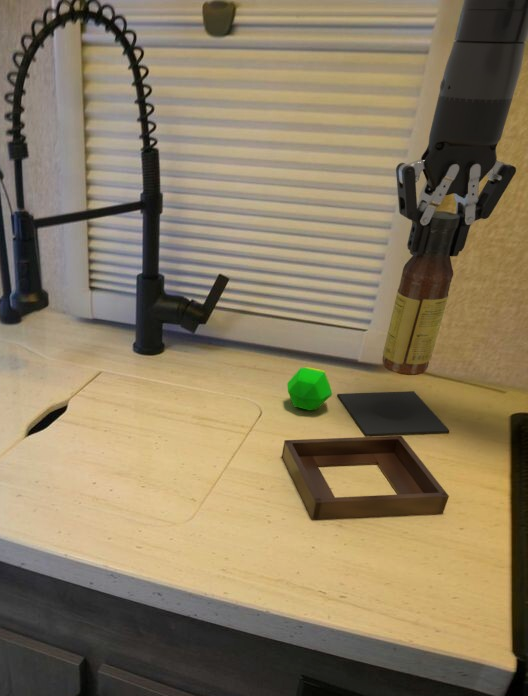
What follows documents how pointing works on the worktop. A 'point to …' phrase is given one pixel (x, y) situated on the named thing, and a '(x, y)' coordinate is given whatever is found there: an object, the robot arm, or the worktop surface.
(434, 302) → the sauce bottle
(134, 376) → the worktop surface
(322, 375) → the green faceted block
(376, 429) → the rubber mat
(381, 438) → the picture frame
